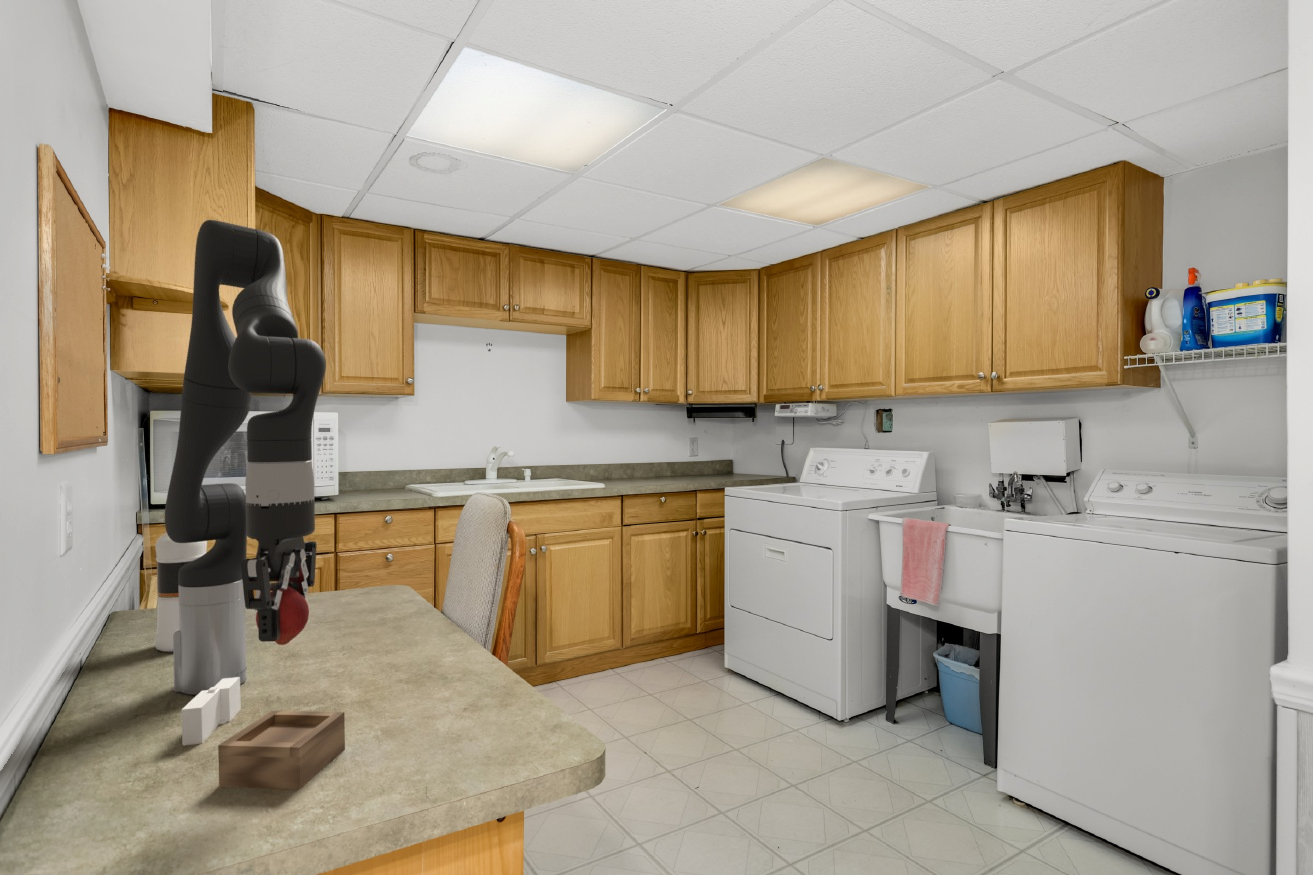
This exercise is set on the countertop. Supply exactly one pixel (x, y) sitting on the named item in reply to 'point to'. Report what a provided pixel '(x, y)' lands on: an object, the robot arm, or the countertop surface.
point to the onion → (291, 615)
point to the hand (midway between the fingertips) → (283, 631)
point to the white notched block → (210, 710)
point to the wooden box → (281, 749)
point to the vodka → (171, 585)
